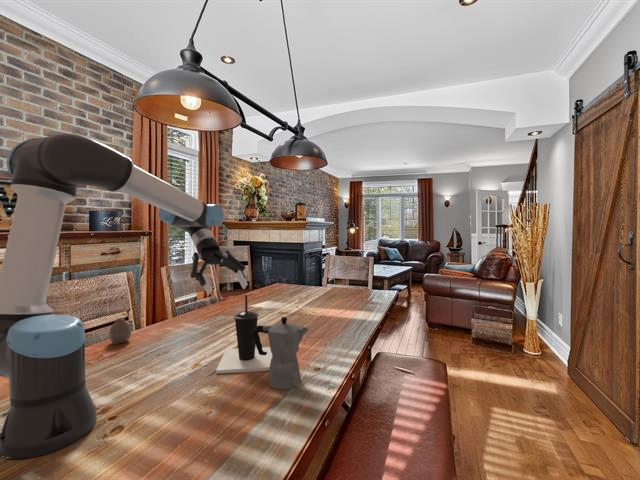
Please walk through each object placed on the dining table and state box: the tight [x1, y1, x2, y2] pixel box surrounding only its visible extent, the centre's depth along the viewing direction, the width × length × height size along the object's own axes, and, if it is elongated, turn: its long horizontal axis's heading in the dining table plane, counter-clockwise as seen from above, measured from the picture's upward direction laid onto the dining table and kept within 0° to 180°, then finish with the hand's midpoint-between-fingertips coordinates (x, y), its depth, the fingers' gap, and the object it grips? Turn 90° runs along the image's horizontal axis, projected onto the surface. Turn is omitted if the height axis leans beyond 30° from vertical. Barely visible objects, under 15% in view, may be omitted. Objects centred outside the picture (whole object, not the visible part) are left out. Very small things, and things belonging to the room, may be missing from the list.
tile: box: [215, 346, 272, 374], centre depth 98 cm, size 16×16×1 cm
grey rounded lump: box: [108, 317, 132, 345], centre depth 114 cm, size 7×7×9 cm
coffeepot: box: [252, 316, 309, 391], centre depth 84 cm, size 15×9×18 cm, turn 89°
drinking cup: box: [233, 294, 259, 361], centre depth 98 cm, size 8×8×20 cm
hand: (228, 289), depth 104 cm, fingers open, 13 cm apart
